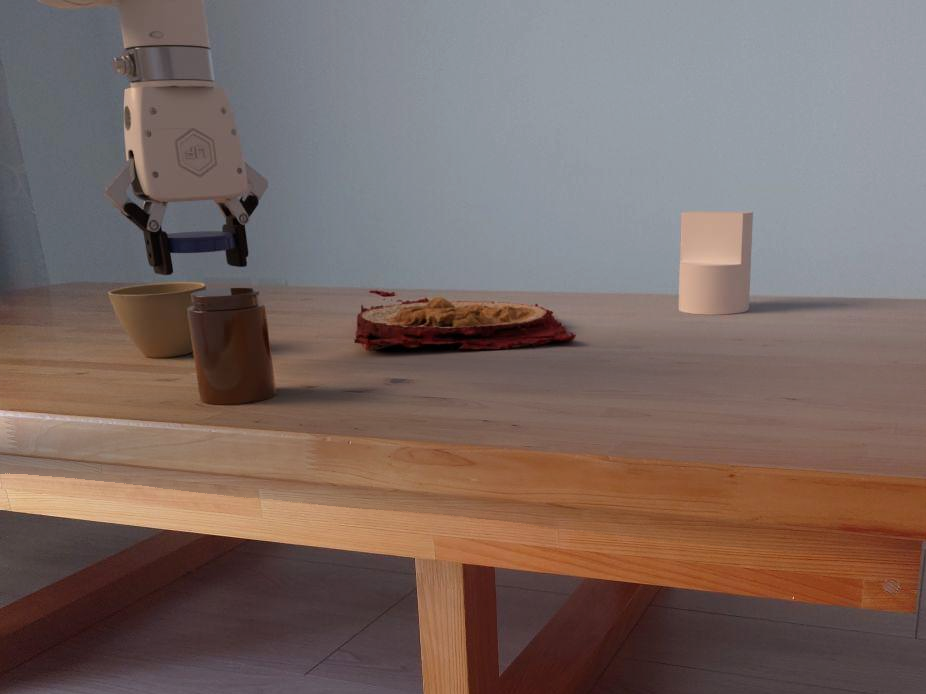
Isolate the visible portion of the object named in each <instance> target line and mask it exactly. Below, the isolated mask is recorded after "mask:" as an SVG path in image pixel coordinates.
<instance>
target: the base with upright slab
mask: <svg viewBox="0 0 926 694" xmlns="http://www.w3.org/2000/svg"><path fill="white" fill-rule="evenodd" d="M753 222H754V211H718V210H717V211H714V210H713V211H711V210H710V211H709V210H708V211H706V210H705V211H703V210H699V211H697V210H691V211H690V210H689V211H684V212H681V213H680V248H679V249H680V254H679V255H680V257H679V271H678V272H679V273H678V274H679V279H678V311H679V312H682V313H685V314H693V315H704V316H705V315H707V316H709V315H710V316H712V315H713V316H717V315H734V314H742V313H746V312H747V311H749V310H750V292H751V291H750V288H751V270H752V269H751V267H752V244H753Z"/></svg>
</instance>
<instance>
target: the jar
mask: <svg viewBox="0 0 926 694" xmlns="http://www.w3.org/2000/svg"><path fill="white" fill-rule="evenodd" d="M259 296H260V291H259V290H258V289H257V288H253V287H252V288H251V287H225V288H212V289H206V290H203V291H198V292H194V293H192V294H191V301H192V302H190V304H191V305H192V306H191V307H189V308H187V315H188V322H189V328H190V335H191V342H192V348H193V351H192V354H193V360H194V368H195V374H196V381H197V386H198V394H199V399H200V401H201V402H203V403H204V404H205V403H206V404H209V405H219V406H221V405H222V406H223V405H224V406H226V405H231V406H232V405H242V404H251V403H257V402H260V401H264V400H268V399H270V398H273V397H274V396H275V395H276V394H277V389H276V380H275V374H274V373H275V372H274V365H273V357H272V349H271V348H272V347H271V342H270V333H269V326H268V316H267V308H266V303H265V302H262V301H259V299H260V298H259Z"/></svg>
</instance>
